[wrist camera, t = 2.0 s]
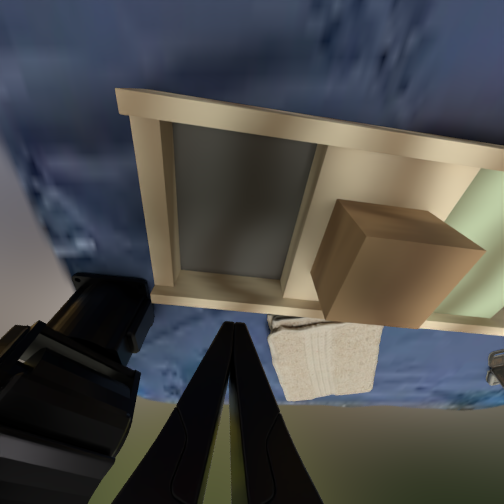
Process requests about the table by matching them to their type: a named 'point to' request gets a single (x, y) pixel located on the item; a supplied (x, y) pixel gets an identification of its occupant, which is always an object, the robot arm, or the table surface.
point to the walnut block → (388, 264)
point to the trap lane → (298, 202)
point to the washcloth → (322, 356)
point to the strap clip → (496, 368)
